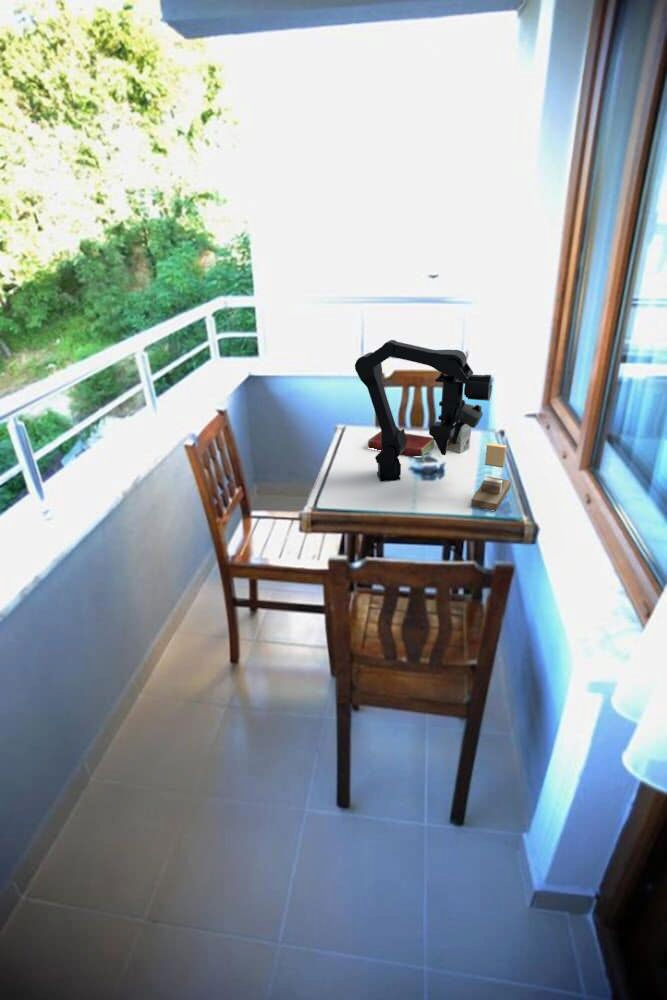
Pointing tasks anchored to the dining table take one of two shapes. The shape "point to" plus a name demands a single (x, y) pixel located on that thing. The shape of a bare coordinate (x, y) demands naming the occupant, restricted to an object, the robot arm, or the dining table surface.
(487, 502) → the stand
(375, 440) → the hardcover book
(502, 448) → the stub
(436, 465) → the dining table surface
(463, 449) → the coffee box
